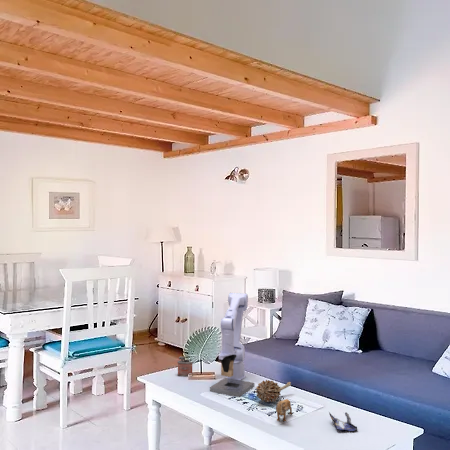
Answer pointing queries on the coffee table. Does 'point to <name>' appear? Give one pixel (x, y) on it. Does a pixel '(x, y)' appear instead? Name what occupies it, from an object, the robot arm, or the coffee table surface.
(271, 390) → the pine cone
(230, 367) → the tan cardboard box
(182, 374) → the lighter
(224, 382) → the collar plate
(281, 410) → the lion figurine
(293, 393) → the coffee table surface
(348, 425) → the blue pointed piece
